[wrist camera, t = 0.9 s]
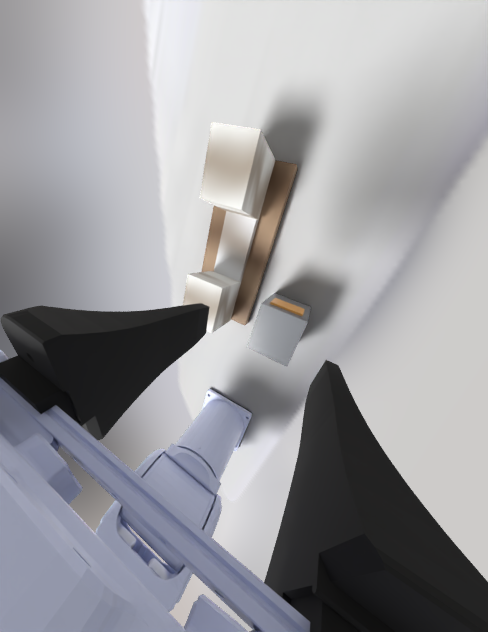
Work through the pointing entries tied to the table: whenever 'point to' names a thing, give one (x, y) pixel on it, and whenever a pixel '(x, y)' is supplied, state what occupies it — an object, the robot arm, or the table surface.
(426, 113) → the table surface
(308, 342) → the table surface
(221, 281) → the cream blocky elongated piece
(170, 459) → the robot arm
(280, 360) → the block
